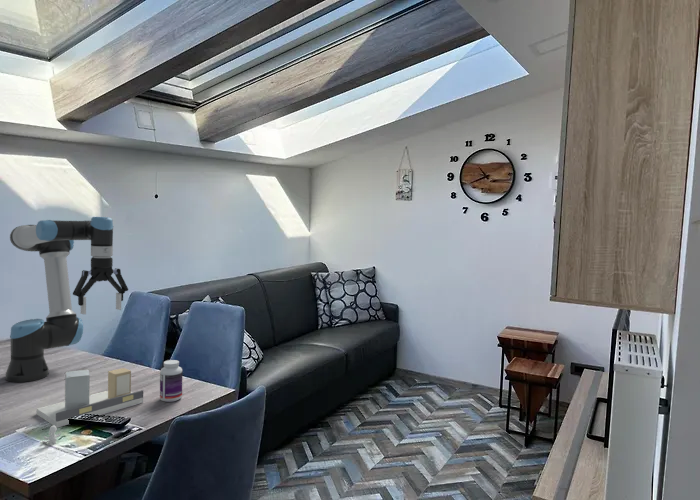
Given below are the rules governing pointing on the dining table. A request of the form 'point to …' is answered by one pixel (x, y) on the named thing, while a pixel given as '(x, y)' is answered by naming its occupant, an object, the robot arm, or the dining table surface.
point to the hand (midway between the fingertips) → (101, 311)
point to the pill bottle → (171, 381)
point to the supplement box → (77, 389)
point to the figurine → (52, 436)
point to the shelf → (89, 407)
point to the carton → (119, 382)
